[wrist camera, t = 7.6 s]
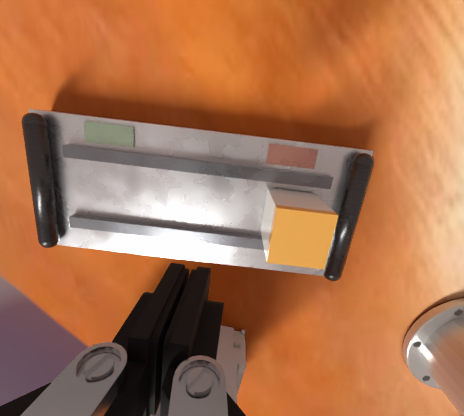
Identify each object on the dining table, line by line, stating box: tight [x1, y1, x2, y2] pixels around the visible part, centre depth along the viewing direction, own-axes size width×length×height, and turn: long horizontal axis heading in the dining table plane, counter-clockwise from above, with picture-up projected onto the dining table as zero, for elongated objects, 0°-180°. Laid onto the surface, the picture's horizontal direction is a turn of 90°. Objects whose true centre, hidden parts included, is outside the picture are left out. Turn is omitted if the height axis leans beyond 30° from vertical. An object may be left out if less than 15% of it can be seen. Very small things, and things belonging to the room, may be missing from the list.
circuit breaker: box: [150, 325, 246, 416], centre depth 23 cm, size 8×14×15 cm, turn 78°
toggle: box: [261, 188, 339, 269], centre depth 19 cm, size 4×4×6 cm
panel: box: [22, 109, 374, 281], centre depth 23 cm, size 28×12×4 cm, turn 83°
